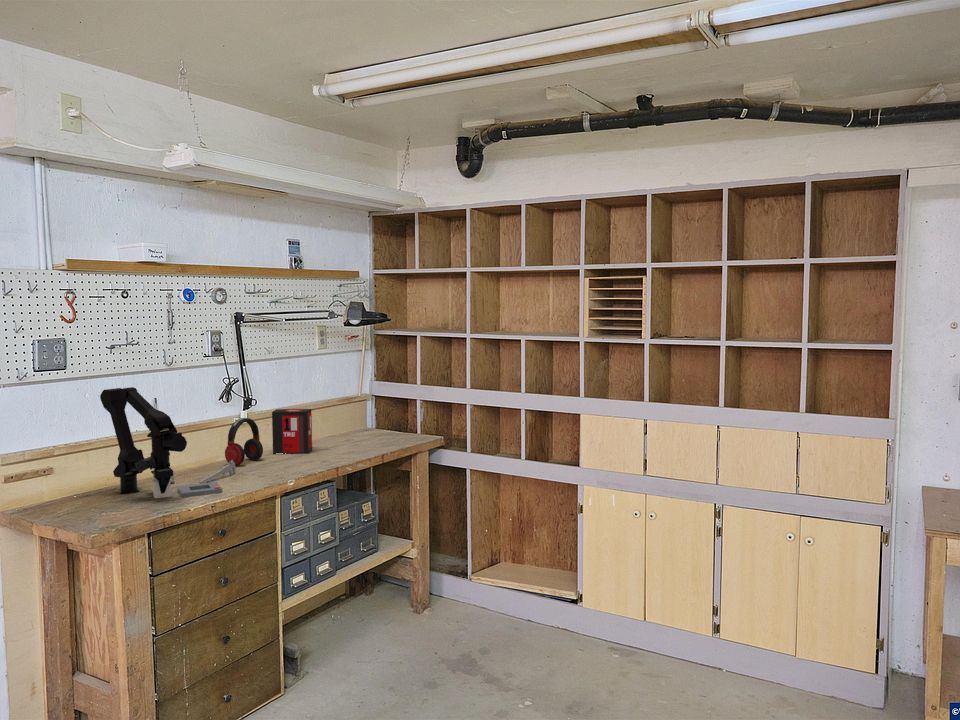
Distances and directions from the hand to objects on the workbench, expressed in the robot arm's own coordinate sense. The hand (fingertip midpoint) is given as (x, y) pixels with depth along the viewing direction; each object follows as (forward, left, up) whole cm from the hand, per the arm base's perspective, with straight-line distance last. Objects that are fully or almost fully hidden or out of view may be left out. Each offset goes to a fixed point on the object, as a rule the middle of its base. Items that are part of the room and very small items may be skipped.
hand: (162, 491), depth 264 cm
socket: (0, +13, -2) cm, 13 cm away
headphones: (-43, +38, -2) cm, 57 cm away
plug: (0, 0, -2) cm, 2 cm away
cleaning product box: (-56, +63, -2) cm, 84 cm away
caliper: (-17, +22, -2) cm, 28 cm away
